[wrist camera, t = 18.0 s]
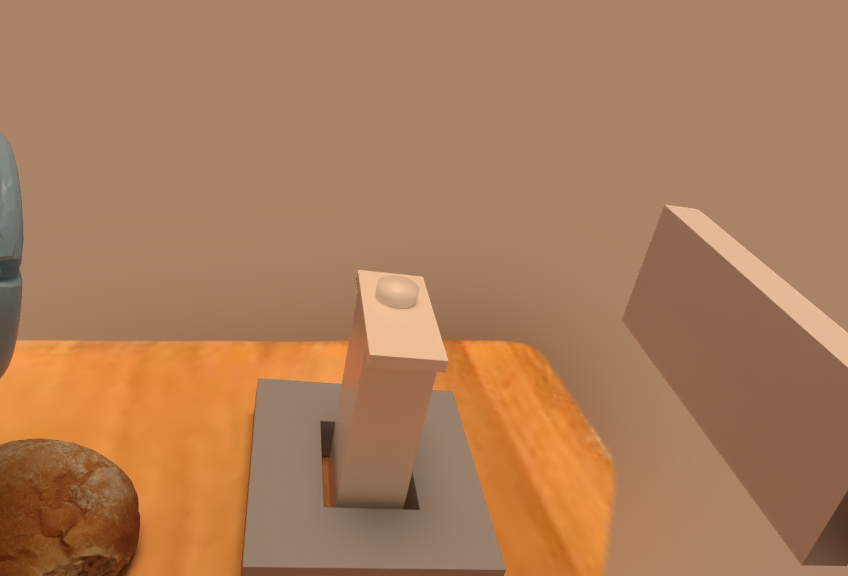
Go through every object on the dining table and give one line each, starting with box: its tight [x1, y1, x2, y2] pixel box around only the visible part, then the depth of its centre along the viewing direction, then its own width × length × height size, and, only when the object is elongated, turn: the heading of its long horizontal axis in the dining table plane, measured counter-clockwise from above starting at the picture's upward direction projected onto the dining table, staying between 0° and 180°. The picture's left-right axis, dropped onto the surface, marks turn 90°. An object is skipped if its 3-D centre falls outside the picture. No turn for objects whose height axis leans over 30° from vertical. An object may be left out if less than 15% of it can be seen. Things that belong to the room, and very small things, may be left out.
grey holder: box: [241, 379, 506, 576], centre depth 46 cm, size 14×16×3 cm
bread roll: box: [0, 439, 140, 576], centre depth 38 cm, size 10×10×8 cm
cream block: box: [328, 270, 448, 510], centre depth 43 cm, size 4×9×15 cm, turn 9°
